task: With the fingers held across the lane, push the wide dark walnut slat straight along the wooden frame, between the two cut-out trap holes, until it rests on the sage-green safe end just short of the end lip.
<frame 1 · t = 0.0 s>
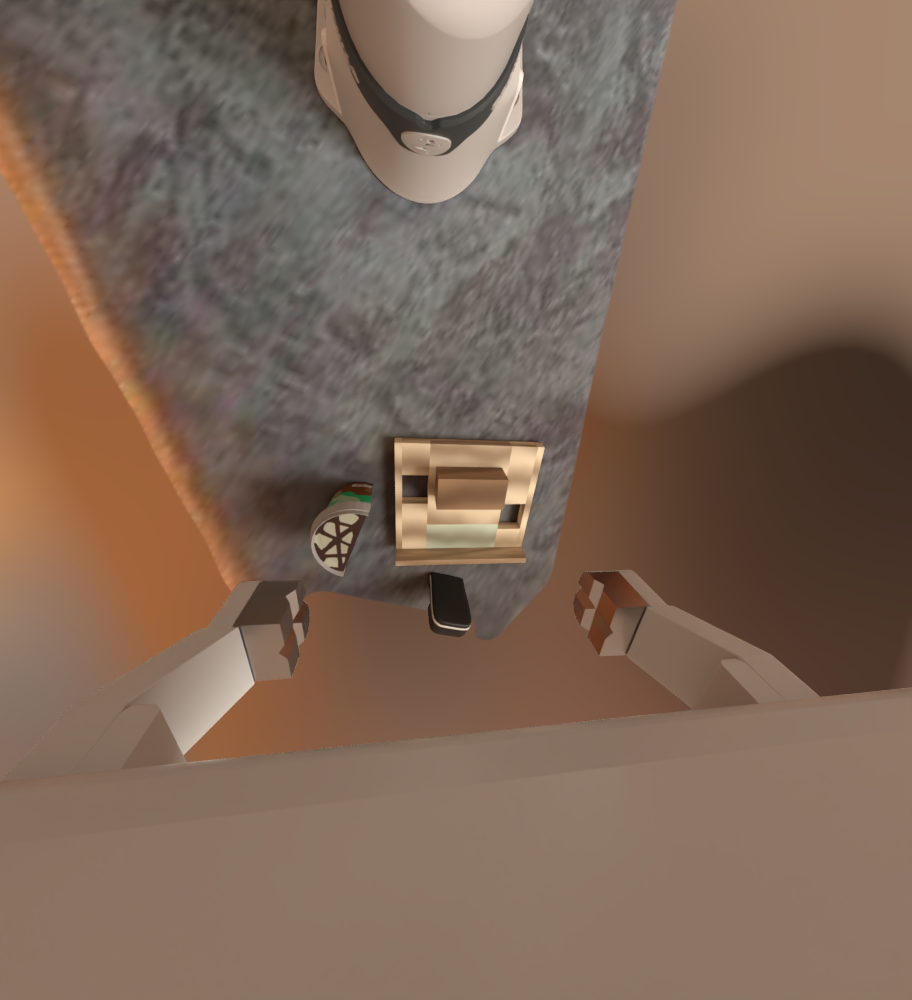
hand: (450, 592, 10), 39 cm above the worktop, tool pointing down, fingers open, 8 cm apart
block: (467, 481, 50), point 2 cm above the worktop, touching wooden frame
wooden frame: (463, 497, 54), on the worktop
food container: (344, 501, 52), on the worktop
battery charger: (444, 580, 63), on the worktop
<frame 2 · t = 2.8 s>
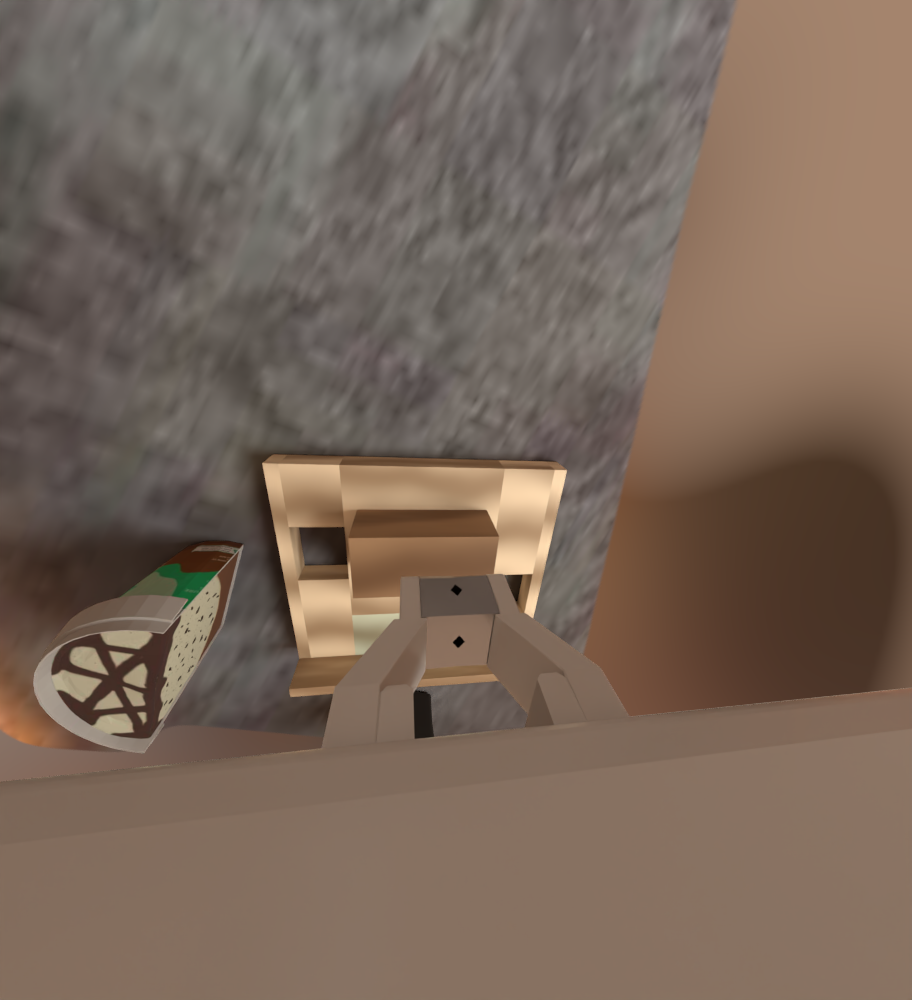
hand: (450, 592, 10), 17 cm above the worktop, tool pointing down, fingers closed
block: (422, 537, 26), point 2 cm above the worktop, touching wooden frame
wooden frame: (420, 563, 30), on the worktop
food container: (194, 575, 28), on the worktop
battery charger: (399, 696, 38), on the worktop
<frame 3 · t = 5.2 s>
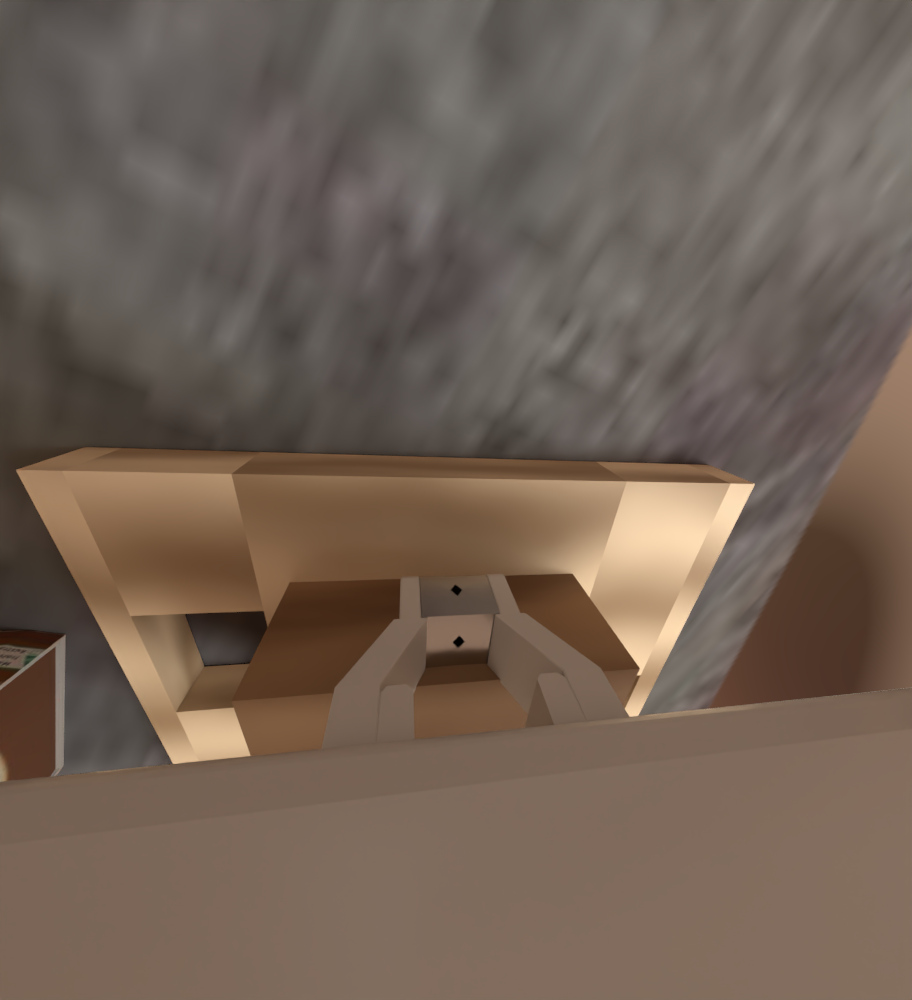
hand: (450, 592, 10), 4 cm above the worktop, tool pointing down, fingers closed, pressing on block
block: (437, 629, 13), point 2 cm above the worktop, touching wooden frame, gripper
wooden frame: (430, 652, 16), on the worktop
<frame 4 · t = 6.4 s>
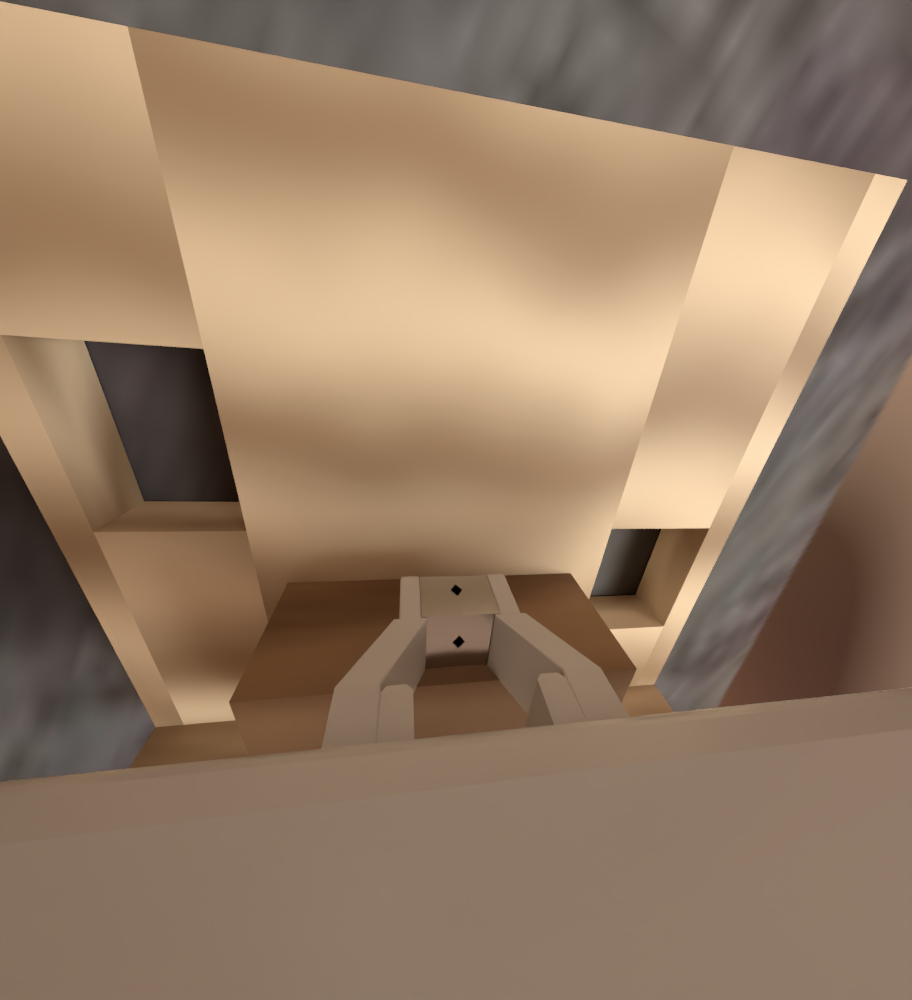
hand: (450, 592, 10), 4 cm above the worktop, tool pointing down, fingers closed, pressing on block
block: (435, 629, 13), point 2 cm above the worktop, touching wooden frame, gripper
wooden frame: (439, 503, 13), on the worktop
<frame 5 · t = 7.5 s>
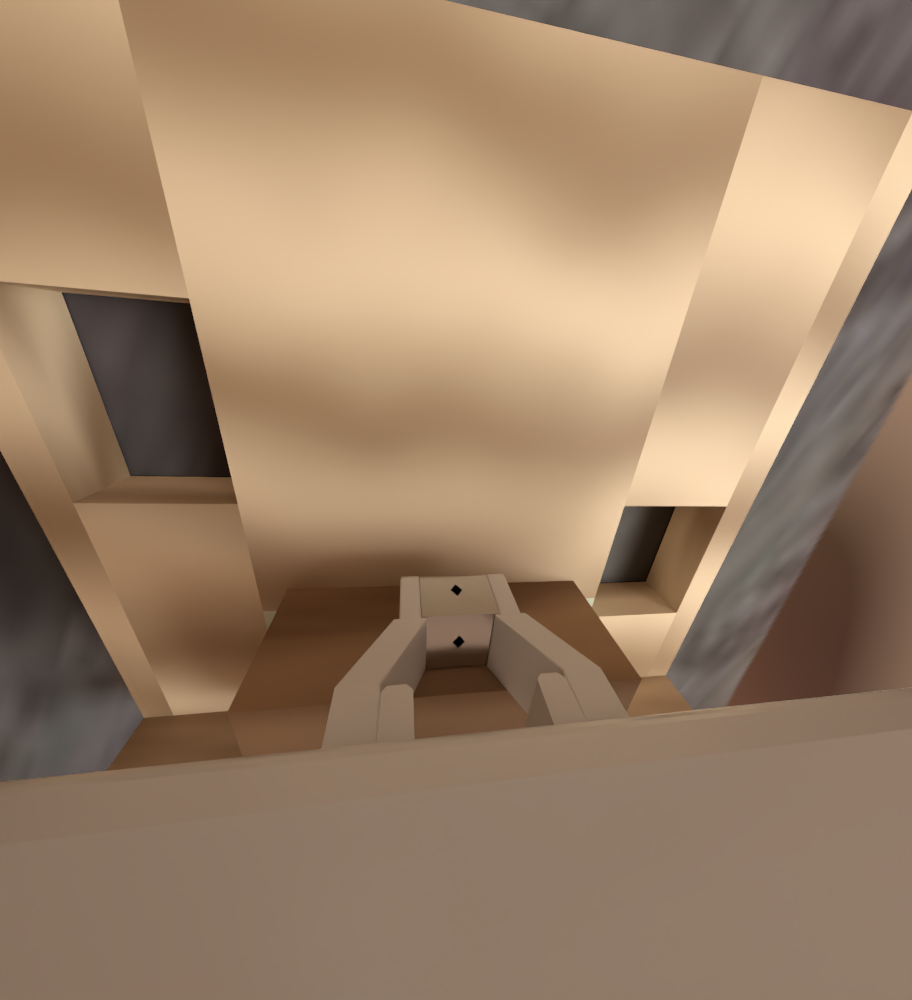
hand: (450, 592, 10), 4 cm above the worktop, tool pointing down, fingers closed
block: (436, 636, 12), point 2 cm above the worktop, touching wooden frame
wooden frame: (442, 480, 12), on the worktop
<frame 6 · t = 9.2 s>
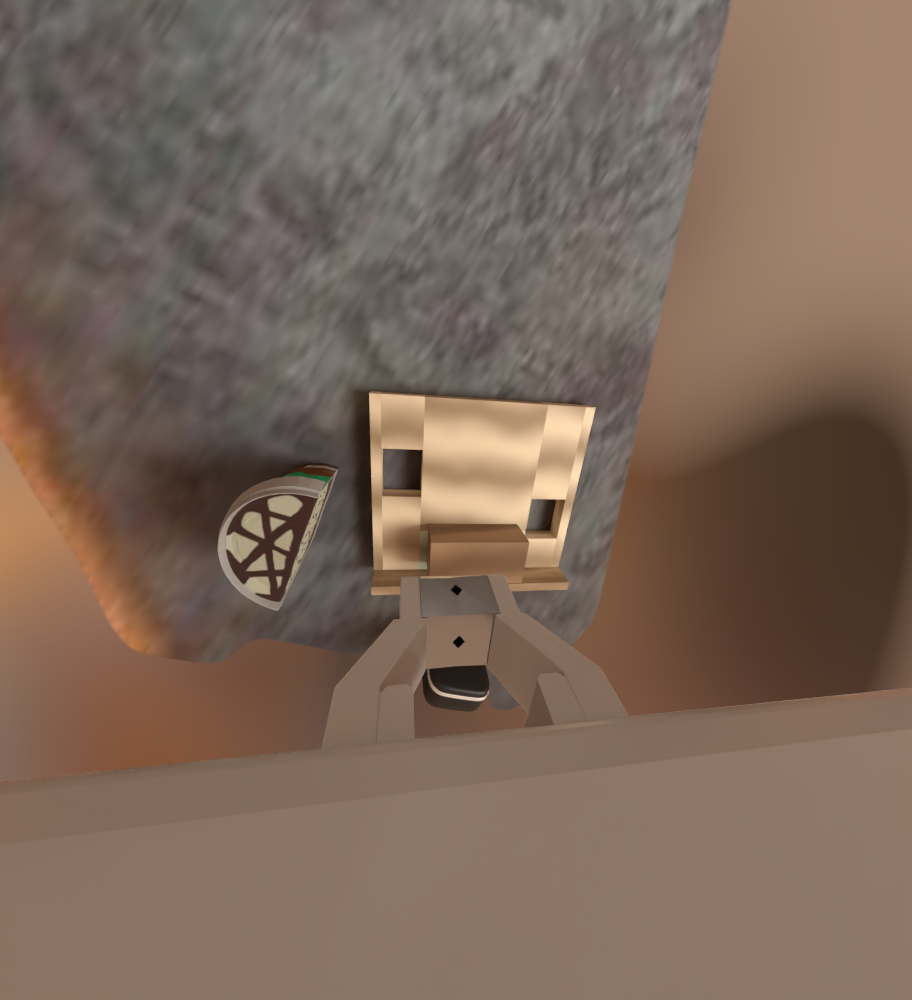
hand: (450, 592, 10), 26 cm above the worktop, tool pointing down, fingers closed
block: (471, 543, 37), point 2 cm above the worktop, touching wooden frame
wooden frame: (474, 491, 37), on the worktop
food container: (295, 495, 34), on the worktop
battery charger: (445, 621, 44), on the worktop
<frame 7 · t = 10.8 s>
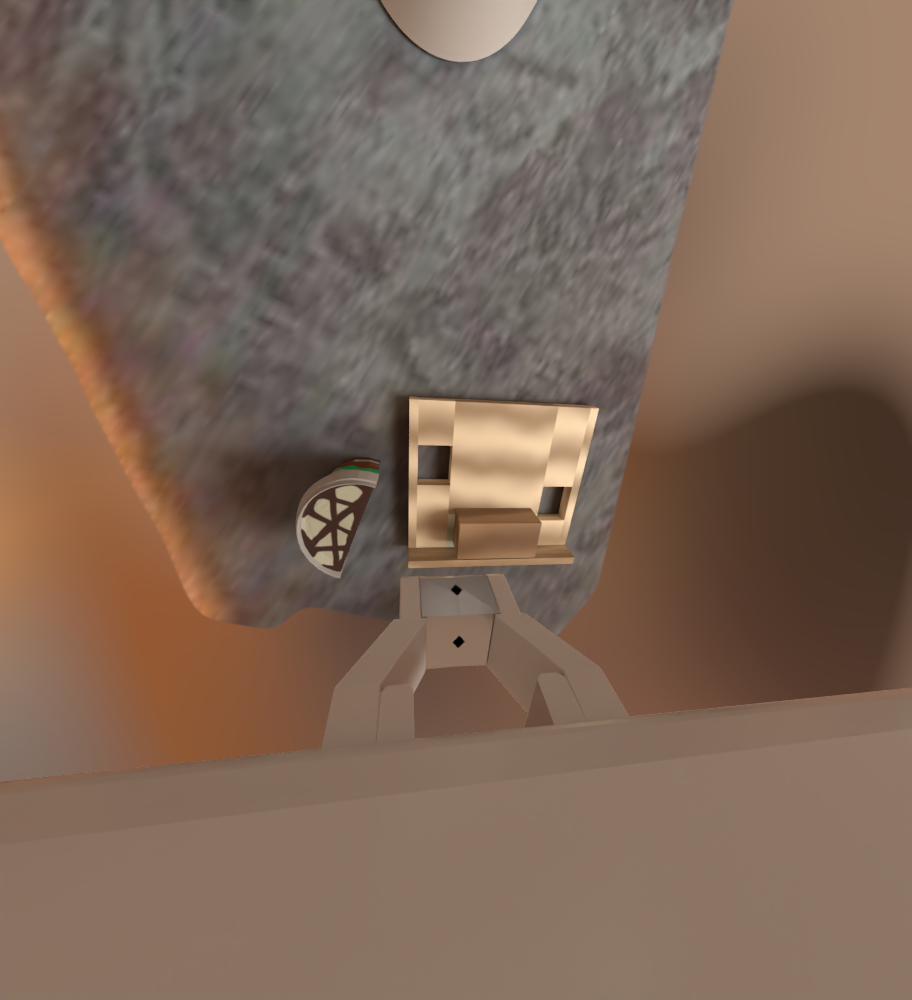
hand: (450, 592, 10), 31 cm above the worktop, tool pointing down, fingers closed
block: (491, 524, 43), point 2 cm above the worktop, touching wooden frame
wooden frame: (493, 479, 43), on the worktop
food container: (343, 484, 41), on the worktop
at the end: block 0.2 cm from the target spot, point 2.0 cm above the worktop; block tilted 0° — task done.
